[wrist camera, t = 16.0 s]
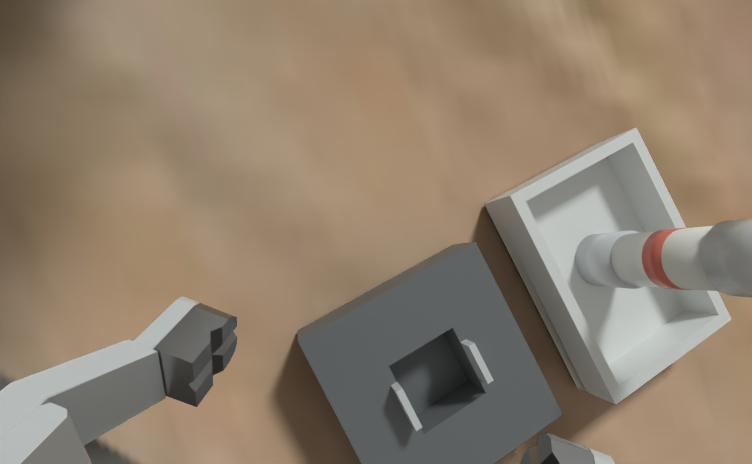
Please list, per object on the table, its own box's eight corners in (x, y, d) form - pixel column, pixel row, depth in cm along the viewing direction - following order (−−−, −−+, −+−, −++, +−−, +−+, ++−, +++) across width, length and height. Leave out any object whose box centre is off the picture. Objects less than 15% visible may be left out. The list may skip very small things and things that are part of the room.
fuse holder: (297, 330, 25) (297, 345, 20) (453, 244, 27) (484, 240, 23) (383, 496, 25) (402, 548, 21) (530, 395, 28) (576, 421, 23)
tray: (484, 204, 28) (510, 195, 25) (598, 142, 31) (636, 127, 27) (577, 388, 28) (615, 404, 25) (683, 313, 31) (731, 319, 27)
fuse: (566, 248, 28) (760, 237, 16) (606, 225, 29) (817, 198, 17) (590, 295, 28) (799, 318, 16) (628, 270, 29) (854, 275, 17)
